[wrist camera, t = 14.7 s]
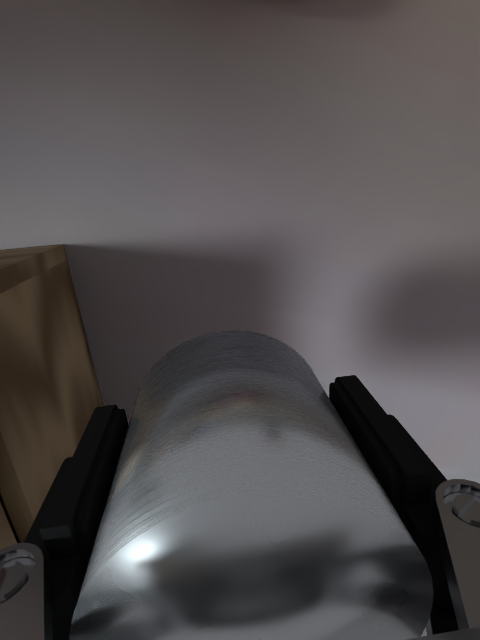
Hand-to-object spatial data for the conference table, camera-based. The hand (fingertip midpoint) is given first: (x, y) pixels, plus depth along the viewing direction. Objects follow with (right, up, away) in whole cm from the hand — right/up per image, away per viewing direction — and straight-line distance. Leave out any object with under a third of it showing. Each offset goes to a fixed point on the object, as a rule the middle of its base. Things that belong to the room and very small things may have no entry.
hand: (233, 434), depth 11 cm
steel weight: (0, 0, +1) cm, 1 cm away
